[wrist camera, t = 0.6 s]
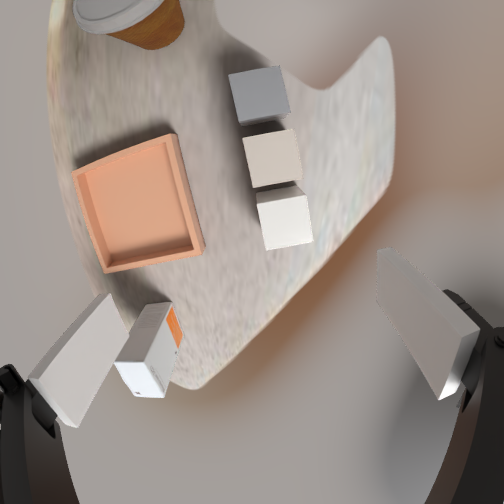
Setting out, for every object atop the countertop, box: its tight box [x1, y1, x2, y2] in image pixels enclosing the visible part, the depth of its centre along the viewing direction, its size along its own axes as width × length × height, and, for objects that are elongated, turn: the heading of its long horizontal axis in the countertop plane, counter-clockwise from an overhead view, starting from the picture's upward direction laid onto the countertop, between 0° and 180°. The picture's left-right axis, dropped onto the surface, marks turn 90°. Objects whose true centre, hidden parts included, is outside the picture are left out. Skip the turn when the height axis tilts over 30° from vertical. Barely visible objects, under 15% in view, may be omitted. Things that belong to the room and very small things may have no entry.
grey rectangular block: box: [228, 66, 291, 126], centre depth 23 cm, size 4×4×6 cm
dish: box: [71, 133, 206, 274], centre depth 29 cm, size 13×13×2 cm
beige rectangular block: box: [242, 129, 304, 188], centre depth 25 cm, size 4×4×6 cm
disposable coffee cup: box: [73, 0, 185, 50], centre depth 16 cm, size 10×10×12 cm
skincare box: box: [114, 302, 184, 398], centre depth 31 cm, size 6×4×12 cm
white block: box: [256, 185, 313, 251], centre depth 28 cm, size 4×4×6 cm
